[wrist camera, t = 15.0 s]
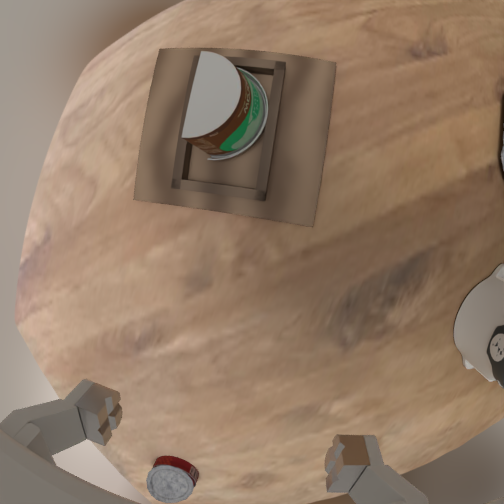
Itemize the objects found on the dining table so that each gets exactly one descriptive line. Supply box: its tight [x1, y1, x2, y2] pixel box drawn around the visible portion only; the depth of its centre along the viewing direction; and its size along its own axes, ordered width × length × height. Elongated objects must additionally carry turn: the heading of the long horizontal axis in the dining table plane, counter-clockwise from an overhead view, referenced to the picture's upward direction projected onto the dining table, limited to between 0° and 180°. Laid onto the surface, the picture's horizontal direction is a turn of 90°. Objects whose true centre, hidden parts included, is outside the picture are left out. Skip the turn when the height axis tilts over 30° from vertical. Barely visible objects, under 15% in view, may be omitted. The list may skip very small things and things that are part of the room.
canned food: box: [146, 456, 199, 503], centre depth 50 cm, size 11×10×10 cm
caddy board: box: [133, 48, 336, 227], centre depth 35 cm, size 24×22×4 cm
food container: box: [182, 51, 268, 160], centre depth 30 cm, size 12×6×10 cm, turn 169°
